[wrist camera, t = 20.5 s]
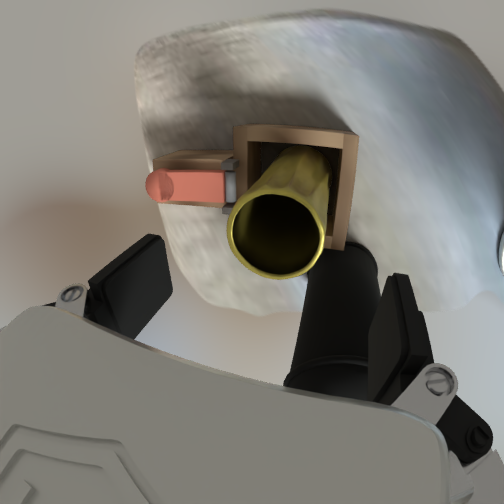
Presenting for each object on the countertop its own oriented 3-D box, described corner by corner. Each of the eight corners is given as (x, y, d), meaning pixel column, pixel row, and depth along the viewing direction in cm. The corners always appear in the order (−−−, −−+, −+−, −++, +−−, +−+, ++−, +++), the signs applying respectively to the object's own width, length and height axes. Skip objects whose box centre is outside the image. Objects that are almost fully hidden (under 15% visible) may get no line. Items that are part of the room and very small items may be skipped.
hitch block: (353, 131, 22) (361, 137, 17) (342, 227, 27) (344, 259, 22) (178, 125, 26) (142, 133, 21) (184, 210, 31) (153, 234, 26)
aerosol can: (297, 286, 32) (253, 445, 16) (324, 229, 28) (300, 404, 11) (356, 309, 32) (351, 466, 15) (390, 257, 27) (424, 428, 10)
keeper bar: (237, 168, 22) (234, 170, 21) (237, 201, 23) (234, 205, 22) (149, 168, 23) (143, 171, 22) (152, 198, 25) (147, 201, 24)
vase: (336, 150, 24) (344, 190, 12) (327, 208, 27) (321, 296, 15) (273, 141, 25) (217, 173, 13) (269, 199, 28) (218, 275, 16)
